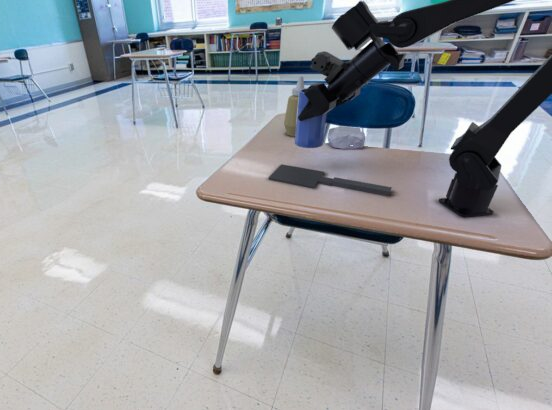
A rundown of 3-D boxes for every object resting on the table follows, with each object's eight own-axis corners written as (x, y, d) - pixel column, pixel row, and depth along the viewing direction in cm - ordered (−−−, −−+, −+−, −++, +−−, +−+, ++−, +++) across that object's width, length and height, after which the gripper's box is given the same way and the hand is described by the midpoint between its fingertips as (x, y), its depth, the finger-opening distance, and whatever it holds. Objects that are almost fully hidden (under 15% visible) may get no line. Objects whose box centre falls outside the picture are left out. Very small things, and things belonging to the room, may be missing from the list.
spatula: (392, 185, 74) (393, 181, 73) (387, 203, 67) (388, 198, 67) (281, 166, 86) (281, 162, 86) (268, 179, 80) (268, 175, 79)
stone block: (330, 154, 96) (367, 148, 93) (328, 138, 94) (366, 132, 91) (325, 142, 106) (359, 136, 104) (324, 127, 105) (358, 122, 102)
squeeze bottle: (311, 132, 109) (318, 75, 101) (303, 139, 104) (310, 79, 95) (288, 129, 113) (292, 74, 104) (279, 136, 108) (283, 78, 99)
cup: (328, 146, 78) (336, 91, 72) (302, 149, 77) (308, 94, 71) (313, 137, 84) (319, 87, 78) (289, 141, 83) (293, 89, 77)
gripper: (355, 34, 73) (304, 82, 85) (319, 40, 61) (265, 96, 73) (385, 73, 72) (329, 117, 84) (355, 88, 60) (295, 136, 72)
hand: (306, 115), depth 78 cm, fingers closed on cup, 7 cm apart
